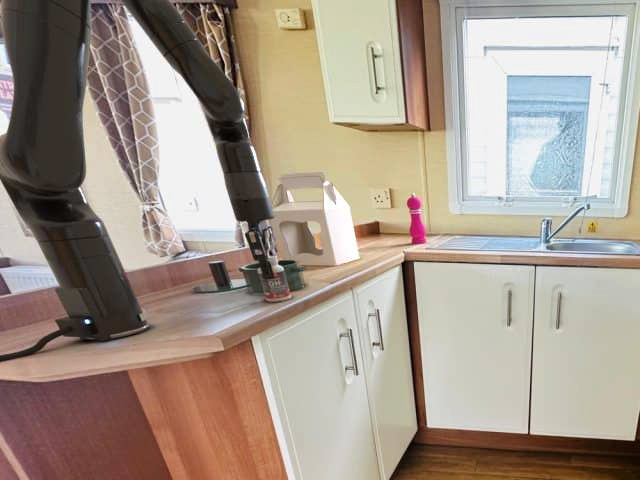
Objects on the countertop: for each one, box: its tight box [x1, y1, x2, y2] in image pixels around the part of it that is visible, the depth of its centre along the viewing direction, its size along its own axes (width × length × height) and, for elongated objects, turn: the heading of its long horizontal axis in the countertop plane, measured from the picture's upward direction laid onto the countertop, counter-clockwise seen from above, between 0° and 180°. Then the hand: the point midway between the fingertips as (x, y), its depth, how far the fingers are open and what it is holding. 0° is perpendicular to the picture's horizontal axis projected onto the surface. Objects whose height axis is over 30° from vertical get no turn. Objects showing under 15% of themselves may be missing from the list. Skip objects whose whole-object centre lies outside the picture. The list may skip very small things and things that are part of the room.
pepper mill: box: [406, 192, 427, 245], centre depth 181 cm, size 7×7×20 cm
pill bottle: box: [257, 256, 292, 303], centre depth 97 cm, size 5×5×10 cm
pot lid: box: [191, 260, 247, 294], centre depth 112 cm, size 14×14×7 cm
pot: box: [238, 259, 307, 294], centre depth 109 cm, size 13×19×6 cm
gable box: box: [270, 171, 360, 267], centre depth 142 cm, size 22×13×28 cm, turn 73°
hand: (272, 276), depth 97 cm, fingers closed on pill bottle, 5 cm apart
